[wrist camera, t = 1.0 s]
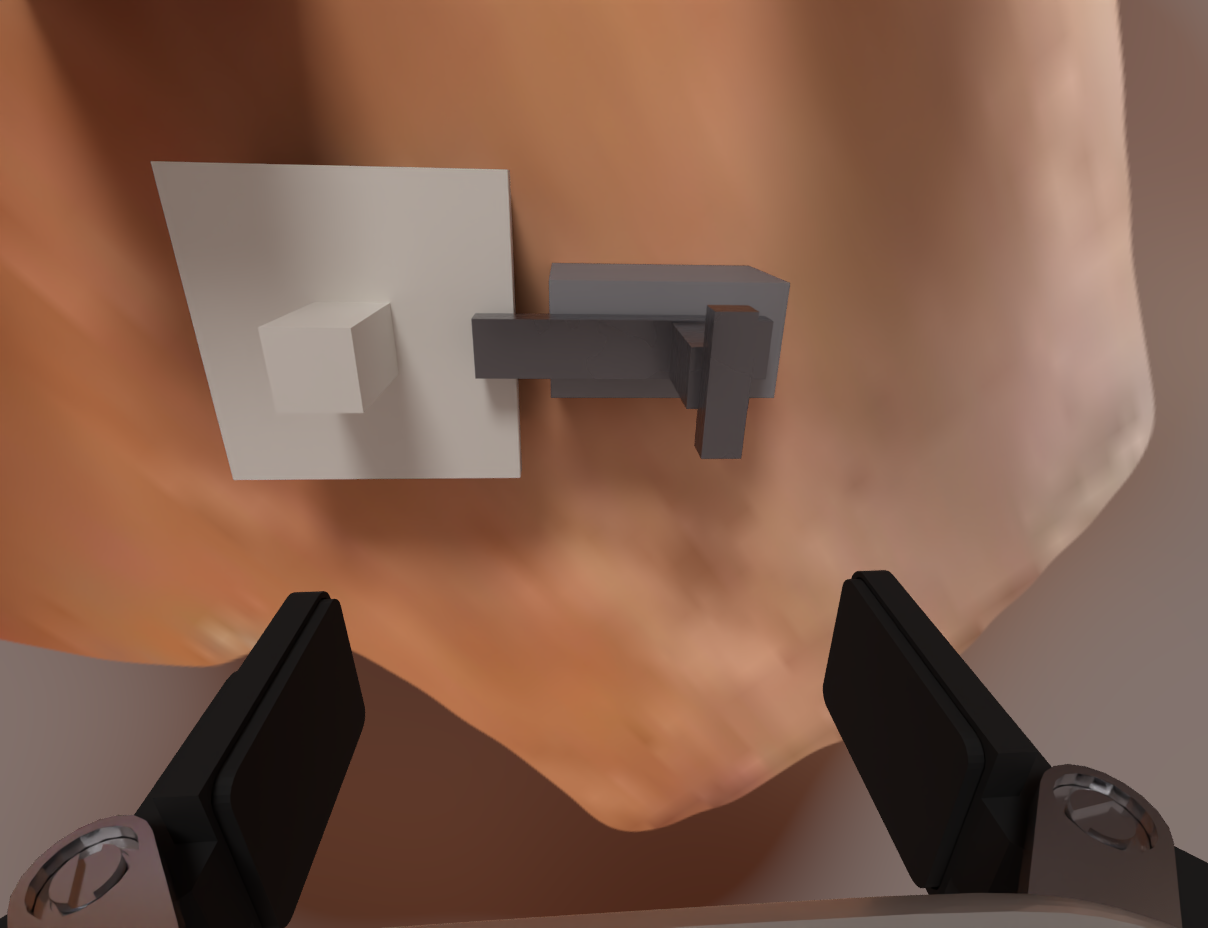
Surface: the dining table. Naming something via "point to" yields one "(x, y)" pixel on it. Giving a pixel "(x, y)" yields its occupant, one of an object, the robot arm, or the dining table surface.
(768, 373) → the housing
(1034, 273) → the dining table surface
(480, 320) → the bolt
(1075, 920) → the robot arm
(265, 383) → the lid
